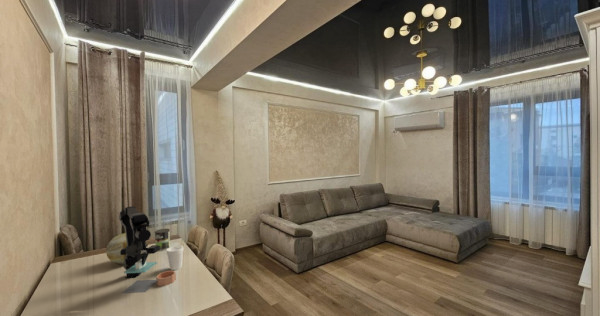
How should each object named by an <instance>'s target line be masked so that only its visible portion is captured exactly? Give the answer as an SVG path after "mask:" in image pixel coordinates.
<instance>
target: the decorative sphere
mask: <svg viewBox="0 0 600 316" xmlns="http://www.w3.org/2000/svg"><path fill="white" fill-rule="evenodd" d="M125 247H127V242H126V234H125V232H124V233H123V232H122V233H120V234H117V235H115V236H114V237H112V239H110V241H109V242H108V243H107V246H106V250H105V252H106V253H105V254H106V257H107V259H108V260H109V261H111V262H112V263H114V264H120V265H121V264H124V260H125V256H126V255H120V251H121V249H123V248H125Z"/></svg>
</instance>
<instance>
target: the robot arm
mask: <svg viewBox="0 0 600 316" xmlns="http://www.w3.org/2000/svg"><path fill="white" fill-rule="evenodd" d="M118 219H119V221H120V224H121V225H122V226H123V228H124V233H125V234H126V242H127V247H125V248H123V249H121V251H120V255H126V256H125V260H124V263H123V268H124V269H125V271H126V270H128V269H129V268H131V267H132V266H134V265H135V263H136V262H138V261H139V260H141V259H142V265H144V264H145V261H146V262H147V258H148V257H149V255H153V254H155V253H157V252H159V250H160V247H159V245H156V244H155V245H150V246H149V245H148V244H147V241H148V240H150V238H151V237H152V235H151V234H152V233H151V231H150V230H149V229H147V227H148V228H149V227H150V224H151V223H150V220H149V218H148V216H147V215H146V214H145V213H144V212H140V211H138V209H136V206H135V205H134V206H133V205H132V206H126V207H124V209H123V210H121V211H120V212H119V214H118ZM148 246H149V247H148ZM125 274H126V276H125V277H124V279H135V278H138V277H139V276H140V275H141V274H142V273H125Z"/></svg>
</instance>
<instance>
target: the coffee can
mask: <svg viewBox="0 0 600 316" xmlns="http://www.w3.org/2000/svg"><path fill="white" fill-rule="evenodd" d="M170 231H171V230H170V228H160V229H157V230H155V231H154V239H155V245H159V247H160V250H159V251H167V249H168V248H170V247H171V236H170V235H171V233H170ZM159 251H158V252H159Z"/></svg>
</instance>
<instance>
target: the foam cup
mask: <svg viewBox="0 0 600 316" xmlns="http://www.w3.org/2000/svg"><path fill="white" fill-rule="evenodd" d="M184 251H185V249H184V246H183V245H176V246H170V248H168V249H167V250H166V255H167V257H168V258H167V259H168V263H169V265H168V266H169V268H170V271H178V270H180V269H182V268H183V257H184Z"/></svg>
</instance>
